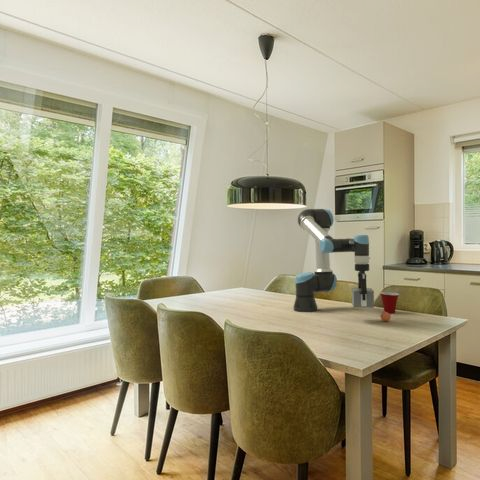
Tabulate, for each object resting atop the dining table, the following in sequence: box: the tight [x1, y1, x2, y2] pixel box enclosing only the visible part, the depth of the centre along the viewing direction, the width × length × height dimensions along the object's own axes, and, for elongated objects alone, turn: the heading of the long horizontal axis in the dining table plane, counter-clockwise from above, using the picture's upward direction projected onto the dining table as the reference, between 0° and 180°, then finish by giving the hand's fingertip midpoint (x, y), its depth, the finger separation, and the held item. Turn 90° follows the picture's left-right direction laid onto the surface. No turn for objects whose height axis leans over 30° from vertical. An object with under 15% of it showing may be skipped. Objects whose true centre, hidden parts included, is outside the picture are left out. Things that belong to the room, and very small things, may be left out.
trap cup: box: [351, 287, 375, 309], centre depth 203 cm, size 10×10×9 cm
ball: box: [380, 311, 391, 322], centre depth 200 cm, size 5×5×5 cm
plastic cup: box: [379, 291, 400, 314], centre depth 223 cm, size 11×11×12 cm
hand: (362, 304), depth 203 cm, fingers closed on trap cup, 10 cm apart
